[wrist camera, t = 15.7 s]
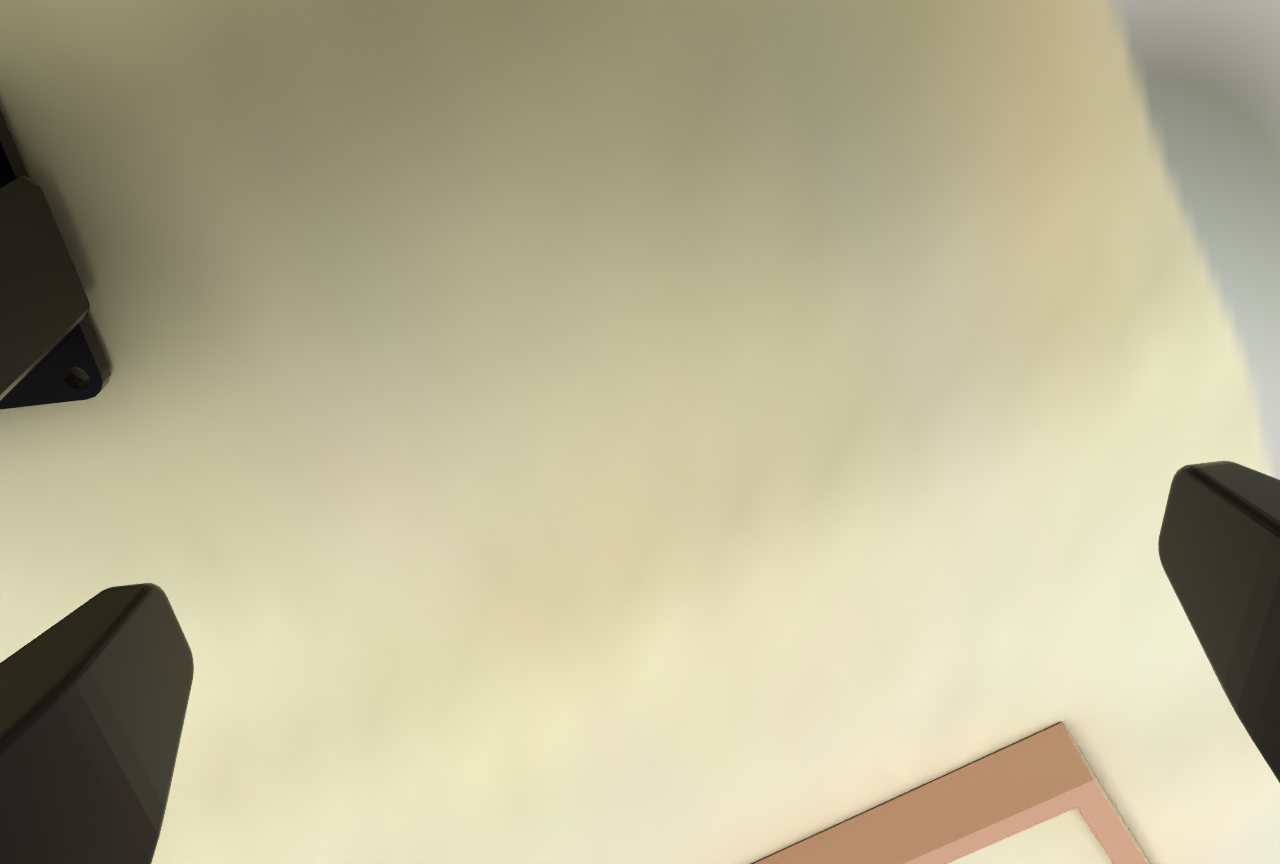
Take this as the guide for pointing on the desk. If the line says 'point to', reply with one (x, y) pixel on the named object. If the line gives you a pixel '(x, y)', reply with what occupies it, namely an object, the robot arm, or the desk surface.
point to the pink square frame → (976, 811)
